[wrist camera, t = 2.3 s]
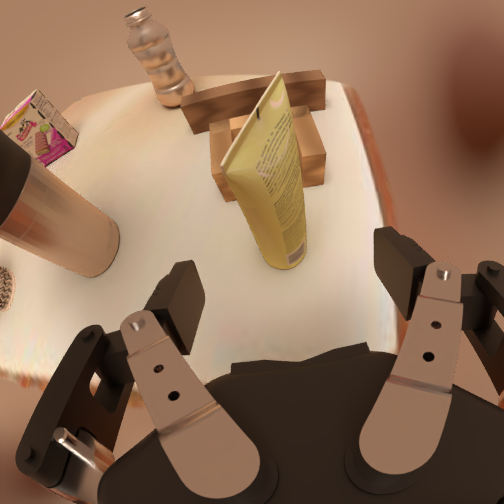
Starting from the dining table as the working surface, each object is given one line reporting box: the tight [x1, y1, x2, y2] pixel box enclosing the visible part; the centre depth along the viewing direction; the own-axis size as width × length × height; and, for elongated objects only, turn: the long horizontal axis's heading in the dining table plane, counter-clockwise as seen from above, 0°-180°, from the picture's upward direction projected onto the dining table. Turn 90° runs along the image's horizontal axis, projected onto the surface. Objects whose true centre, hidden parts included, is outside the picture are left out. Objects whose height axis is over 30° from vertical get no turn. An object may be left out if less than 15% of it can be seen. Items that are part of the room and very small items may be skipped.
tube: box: [220, 71, 306, 269], centre depth 21 cm, size 6×5×20 cm
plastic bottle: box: [124, 6, 194, 107], centre depth 33 cm, size 6×7×20 cm
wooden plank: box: [180, 70, 326, 134], centre depth 34 cm, size 20×2×6 cm, turn 98°
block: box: [209, 105, 326, 202], centre depth 31 cm, size 12×8×6 cm, turn 98°
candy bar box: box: [0, 89, 78, 167], centre depth 38 cm, size 11×5×16 cm, turn 104°
